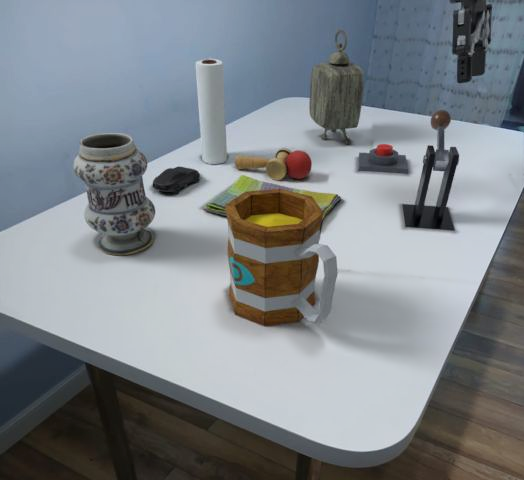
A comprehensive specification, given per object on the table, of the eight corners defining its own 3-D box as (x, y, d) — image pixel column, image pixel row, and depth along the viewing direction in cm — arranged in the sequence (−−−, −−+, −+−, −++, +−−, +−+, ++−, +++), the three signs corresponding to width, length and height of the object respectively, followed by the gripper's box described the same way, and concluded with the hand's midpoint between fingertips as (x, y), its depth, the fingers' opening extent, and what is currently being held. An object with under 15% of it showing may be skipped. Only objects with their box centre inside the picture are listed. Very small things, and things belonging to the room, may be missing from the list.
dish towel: (243, 182, 111) (242, 170, 109) (346, 204, 102) (347, 191, 101) (201, 213, 99) (200, 200, 97) (313, 240, 91) (314, 227, 89)
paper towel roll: (217, 166, 118) (212, 65, 104) (197, 161, 120) (189, 62, 106) (234, 157, 123) (231, 59, 108) (214, 152, 125) (209, 56, 111)
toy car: (203, 179, 112) (202, 162, 110) (169, 198, 104) (167, 180, 102) (183, 174, 114) (181, 157, 112) (149, 192, 107) (146, 175, 104)
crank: (428, 120, 95) (433, 104, 92) (447, 121, 95) (453, 105, 92) (428, 173, 90) (432, 157, 87) (448, 174, 90) (454, 159, 86)
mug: (211, 293, 78) (204, 203, 68) (280, 267, 84) (283, 180, 74) (287, 362, 66) (292, 264, 56) (361, 326, 72) (377, 232, 62)
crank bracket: (401, 209, 101) (415, 139, 92) (446, 212, 100) (465, 142, 91) (404, 232, 93) (419, 158, 84) (453, 236, 92) (474, 161, 83)
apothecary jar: (157, 223, 96) (143, 126, 84) (161, 254, 87) (145, 150, 75) (93, 229, 94) (69, 130, 82) (90, 262, 85) (62, 156, 73)
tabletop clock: (356, 146, 129) (370, 34, 112) (323, 149, 127) (332, 35, 111) (336, 129, 139) (346, 24, 123) (306, 132, 138) (312, 25, 121)
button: (391, 152, 116) (392, 144, 114) (391, 157, 113) (393, 149, 112) (375, 151, 116) (376, 143, 115) (376, 156, 113) (377, 148, 112)
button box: (403, 164, 120) (407, 147, 117) (406, 178, 113) (409, 161, 110) (358, 161, 121) (360, 144, 118) (357, 175, 114) (359, 158, 111)
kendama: (231, 181, 114) (305, 182, 108) (229, 152, 111) (305, 151, 105) (245, 175, 121) (316, 175, 114) (243, 147, 118) (315, 146, 111)
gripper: (489, -45, 70) (483, 82, 79) (511, -44, 80) (504, 70, 88) (436, -31, 75) (436, 88, 83) (463, -31, 84) (460, 76, 92)
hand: (471, 78), depth 85 cm, fingers open, 8 cm apart
